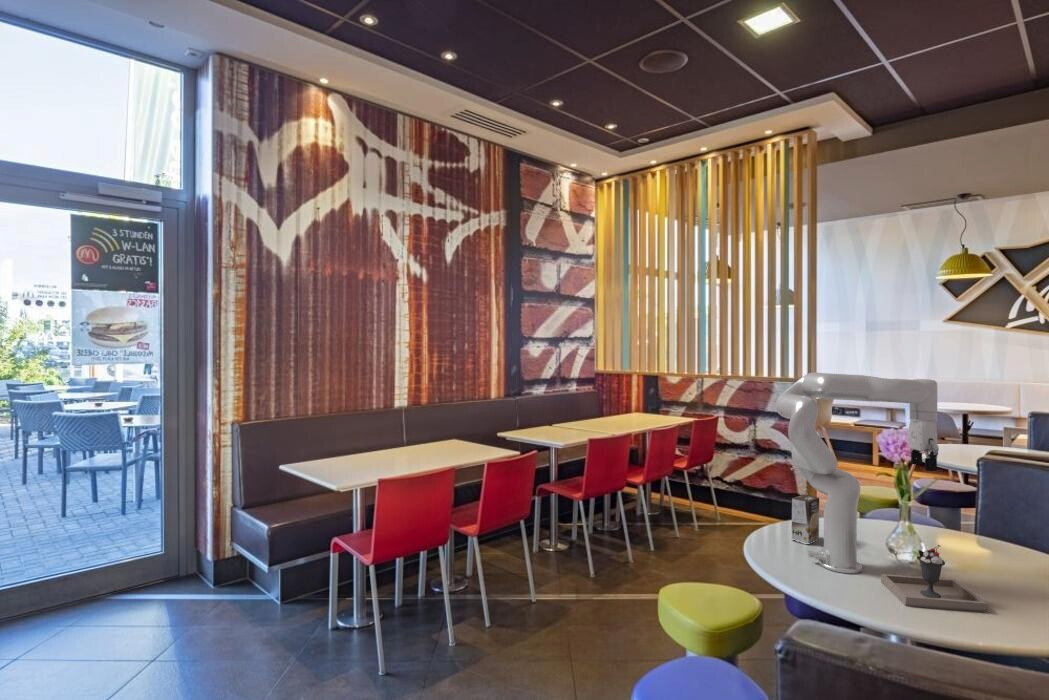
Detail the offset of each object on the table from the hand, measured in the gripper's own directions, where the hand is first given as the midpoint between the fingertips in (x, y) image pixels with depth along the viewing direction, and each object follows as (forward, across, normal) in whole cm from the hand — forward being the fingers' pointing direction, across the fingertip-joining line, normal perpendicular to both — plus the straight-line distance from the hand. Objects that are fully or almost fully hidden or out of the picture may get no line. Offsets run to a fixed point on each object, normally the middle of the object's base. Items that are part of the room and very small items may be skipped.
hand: (923, 467), depth 186 cm
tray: (+32, +27, -10) cm, 43 cm away
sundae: (+32, +27, -10) cm, 43 cm away
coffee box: (+32, -16, -32) cm, 49 cm away
